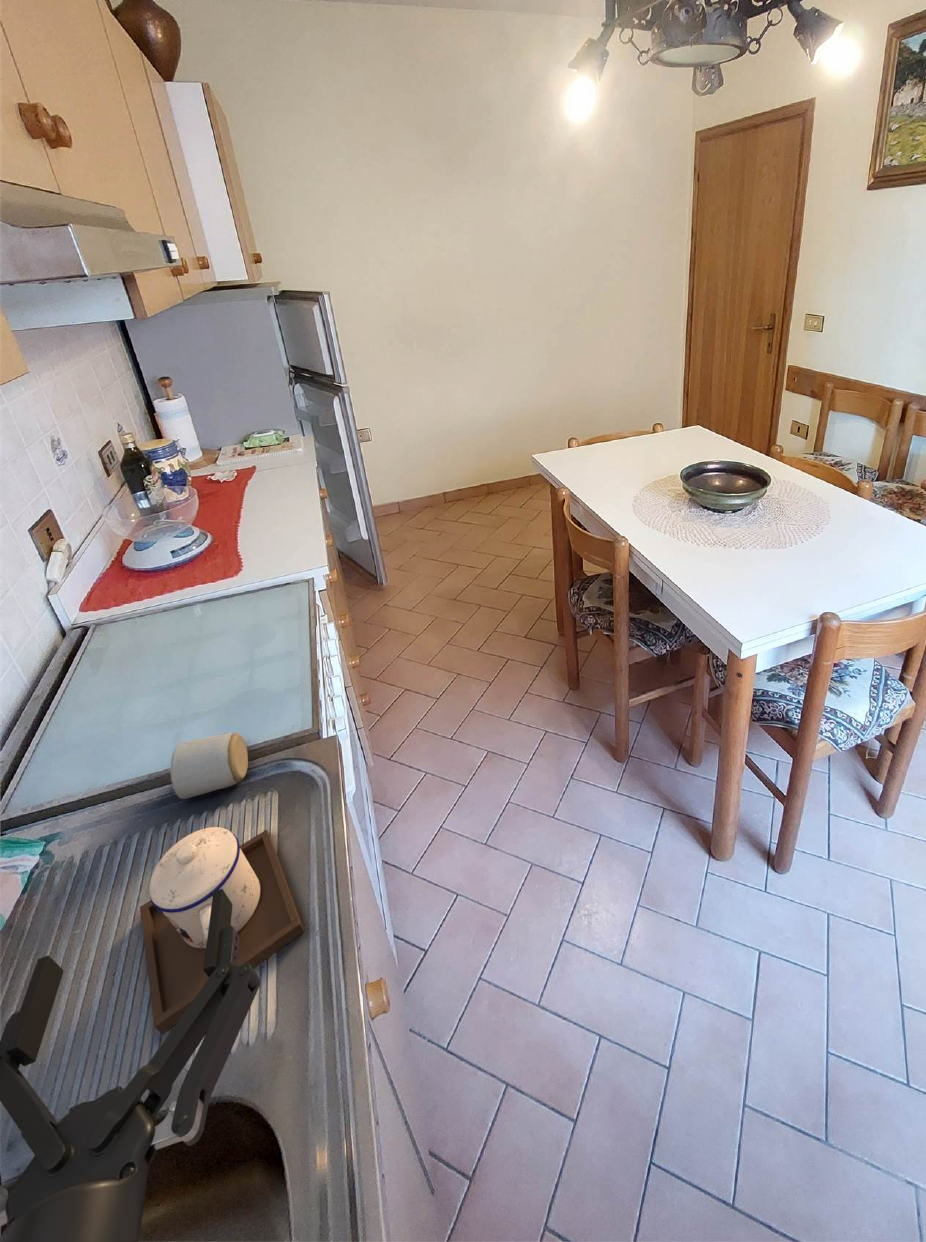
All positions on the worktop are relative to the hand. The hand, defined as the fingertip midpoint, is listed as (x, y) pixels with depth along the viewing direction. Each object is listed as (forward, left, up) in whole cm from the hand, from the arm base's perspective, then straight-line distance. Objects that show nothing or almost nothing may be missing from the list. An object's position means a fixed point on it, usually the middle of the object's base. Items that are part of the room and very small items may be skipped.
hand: (140, 930), depth 52 cm
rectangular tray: (-9, +3, -18) cm, 20 cm away
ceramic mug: (-32, +7, -18) cm, 37 cm away
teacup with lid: (-9, +3, -17) cm, 20 cm away
